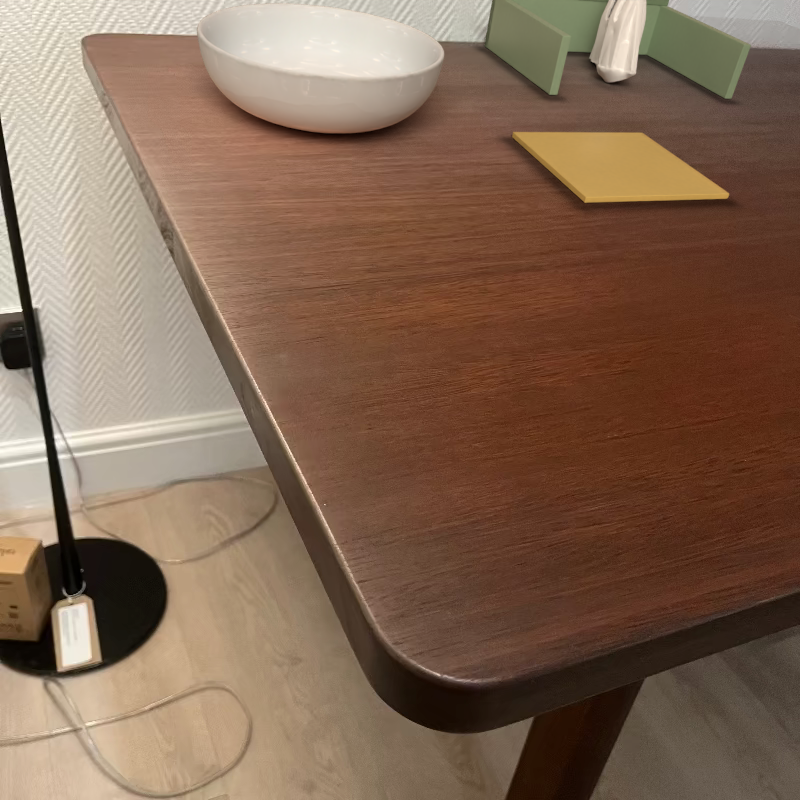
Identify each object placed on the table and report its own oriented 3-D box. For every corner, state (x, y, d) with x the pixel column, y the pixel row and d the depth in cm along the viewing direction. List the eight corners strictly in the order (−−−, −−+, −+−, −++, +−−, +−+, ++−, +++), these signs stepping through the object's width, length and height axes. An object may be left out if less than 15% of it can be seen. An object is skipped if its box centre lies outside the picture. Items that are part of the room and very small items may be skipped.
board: (640, 137, 79) (642, 132, 79) (727, 199, 69) (729, 193, 68) (511, 137, 74) (512, 131, 74) (584, 203, 64) (586, 197, 64)
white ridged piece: (631, 92, 91) (663, -16, 84) (595, 86, 91) (623, -22, 85) (620, 63, 101) (648, -36, 94) (587, 58, 101) (612, -41, 94)
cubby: (648, 52, 107) (664, -4, 103) (731, 99, 94) (754, 37, 90) (483, 45, 100) (494, -15, 95) (549, 95, 86) (565, 27, 82)
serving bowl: (151, 95, 71) (146, 11, 67) (329, 68, 84) (334, -4, 80) (303, 181, 61) (308, 88, 57) (480, 135, 74) (495, 56, 70)
